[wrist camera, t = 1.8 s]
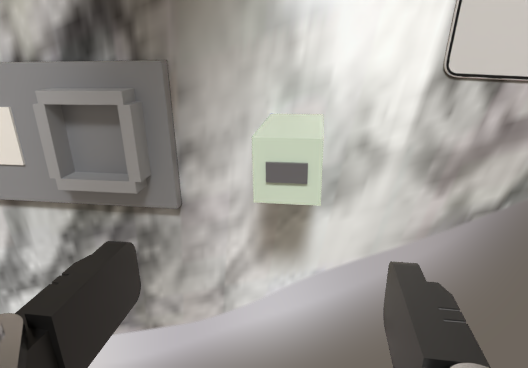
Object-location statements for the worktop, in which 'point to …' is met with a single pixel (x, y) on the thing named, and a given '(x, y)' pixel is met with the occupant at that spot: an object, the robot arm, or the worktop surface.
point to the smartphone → (488, 40)
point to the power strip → (88, 133)
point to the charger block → (288, 159)
